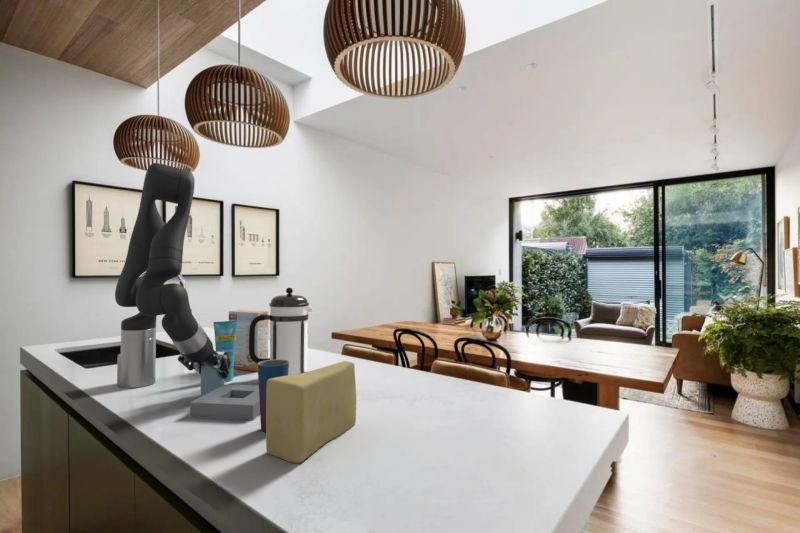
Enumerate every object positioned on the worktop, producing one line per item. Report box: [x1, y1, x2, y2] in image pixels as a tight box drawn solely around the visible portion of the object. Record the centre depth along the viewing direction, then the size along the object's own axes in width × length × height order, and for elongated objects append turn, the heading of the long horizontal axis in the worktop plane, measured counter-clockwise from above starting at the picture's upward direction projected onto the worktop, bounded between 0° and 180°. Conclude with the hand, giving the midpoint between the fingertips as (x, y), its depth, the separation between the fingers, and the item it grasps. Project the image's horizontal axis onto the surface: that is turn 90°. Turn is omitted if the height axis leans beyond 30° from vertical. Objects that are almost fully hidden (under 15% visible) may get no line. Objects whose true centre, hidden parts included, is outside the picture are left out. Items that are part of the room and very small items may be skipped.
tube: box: [213, 320, 238, 382], centre depth 135 cm, size 7×5×19 cm, turn 134°
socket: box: [189, 384, 260, 421], centre depth 108 cm, size 16×16×4 cm
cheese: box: [265, 360, 357, 464], centre depth 88 cm, size 22×10×15 cm, turn 148°
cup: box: [257, 359, 289, 434], centre depth 93 cm, size 7×7×15 cm
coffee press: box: [249, 287, 314, 375], centre depth 138 cm, size 17×16×30 cm
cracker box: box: [228, 309, 269, 373], centre depth 150 cm, size 14×6×21 cm, turn 65°
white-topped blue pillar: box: [200, 352, 225, 397], centre depth 118 cm, size 4×4×12 cm
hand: (216, 375), depth 120 cm, fingers open, 5 cm apart
